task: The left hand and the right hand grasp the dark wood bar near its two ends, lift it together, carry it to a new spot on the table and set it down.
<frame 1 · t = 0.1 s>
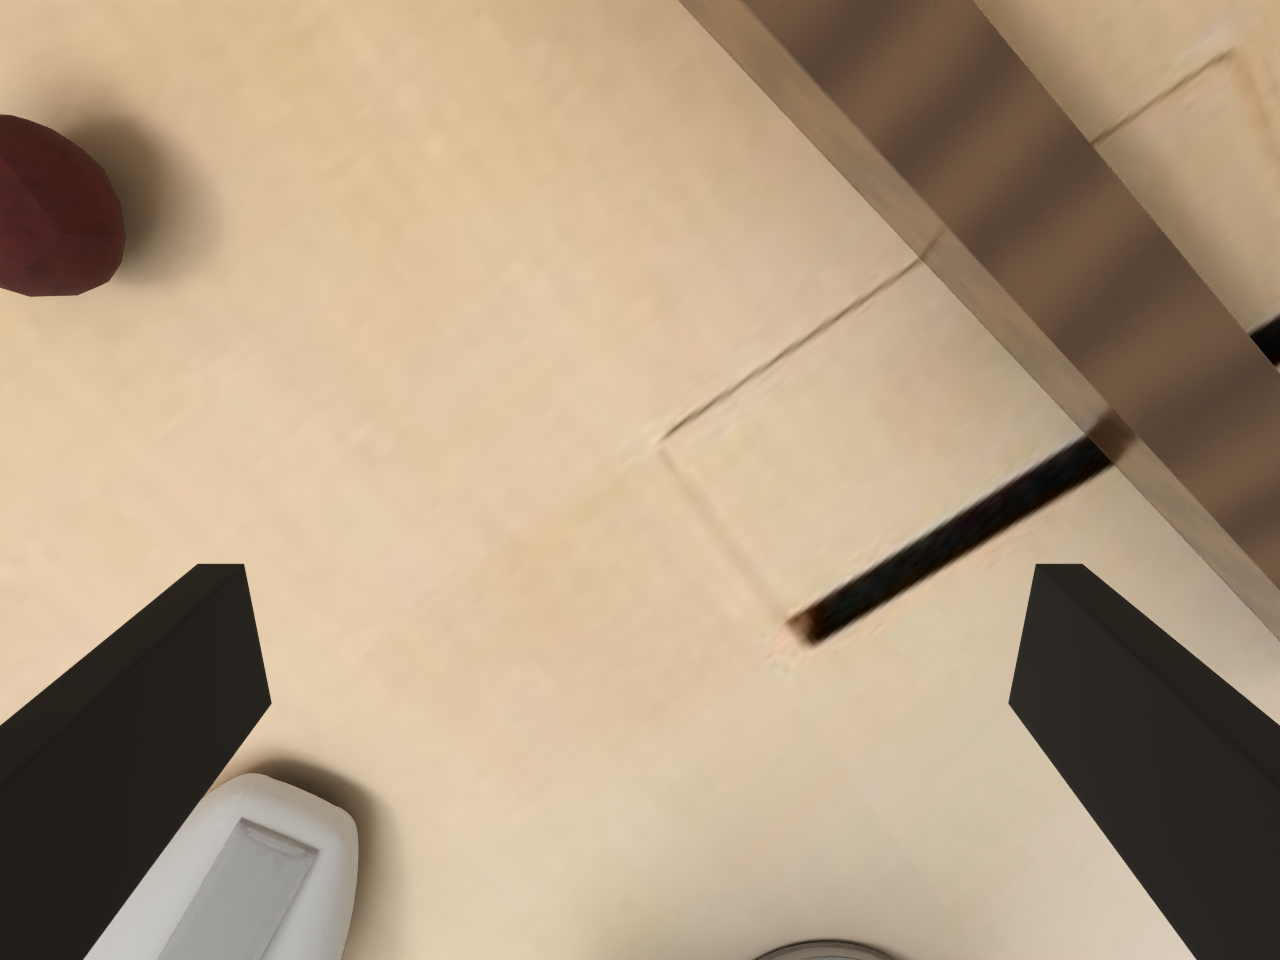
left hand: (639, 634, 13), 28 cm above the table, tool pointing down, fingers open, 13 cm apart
dark red ball: (83, 211, 37), on the table
bar: (965, 215, 37), on the table
projector: (244, 889, 52), on the table
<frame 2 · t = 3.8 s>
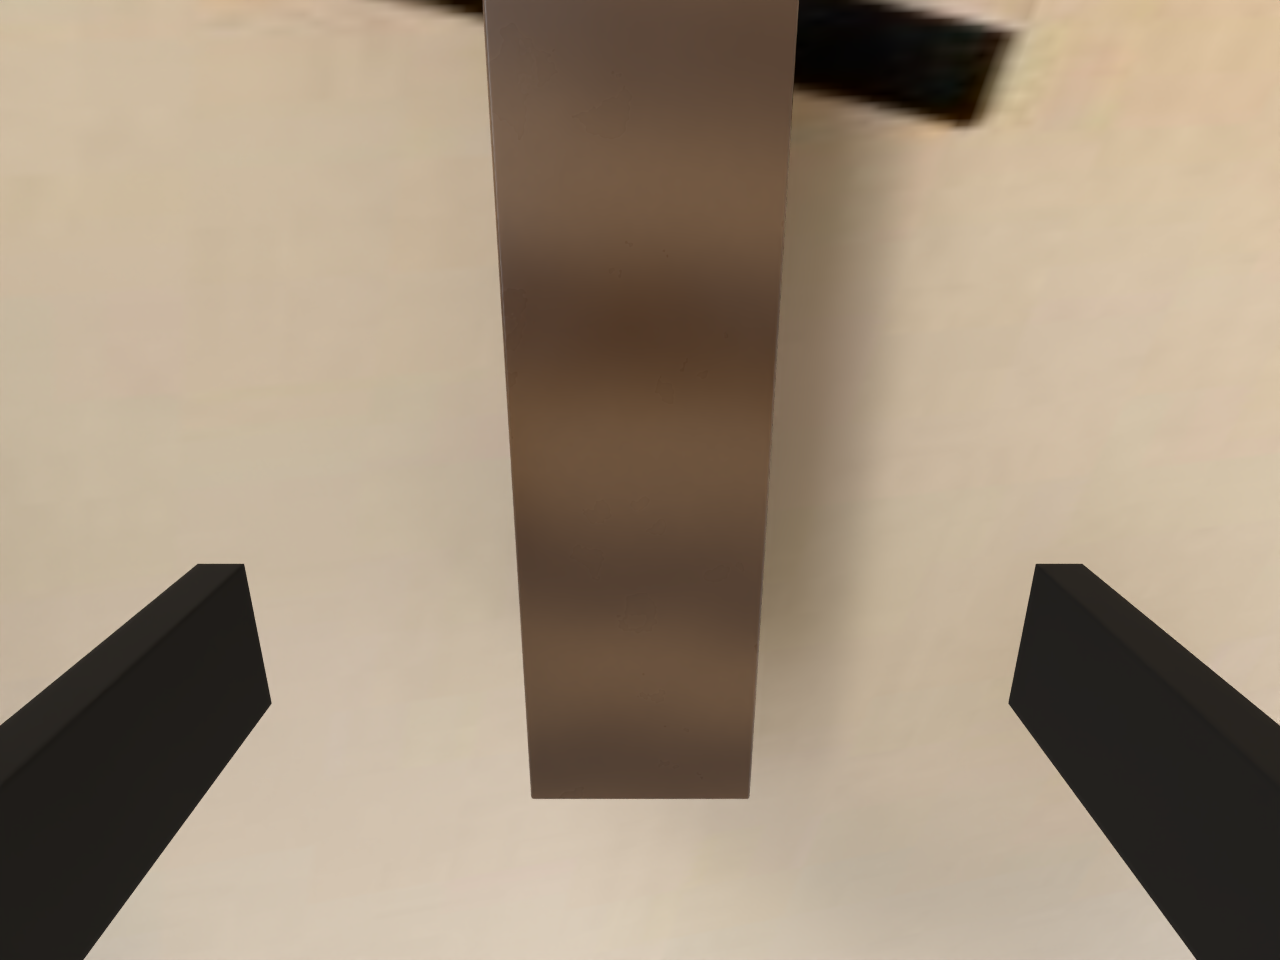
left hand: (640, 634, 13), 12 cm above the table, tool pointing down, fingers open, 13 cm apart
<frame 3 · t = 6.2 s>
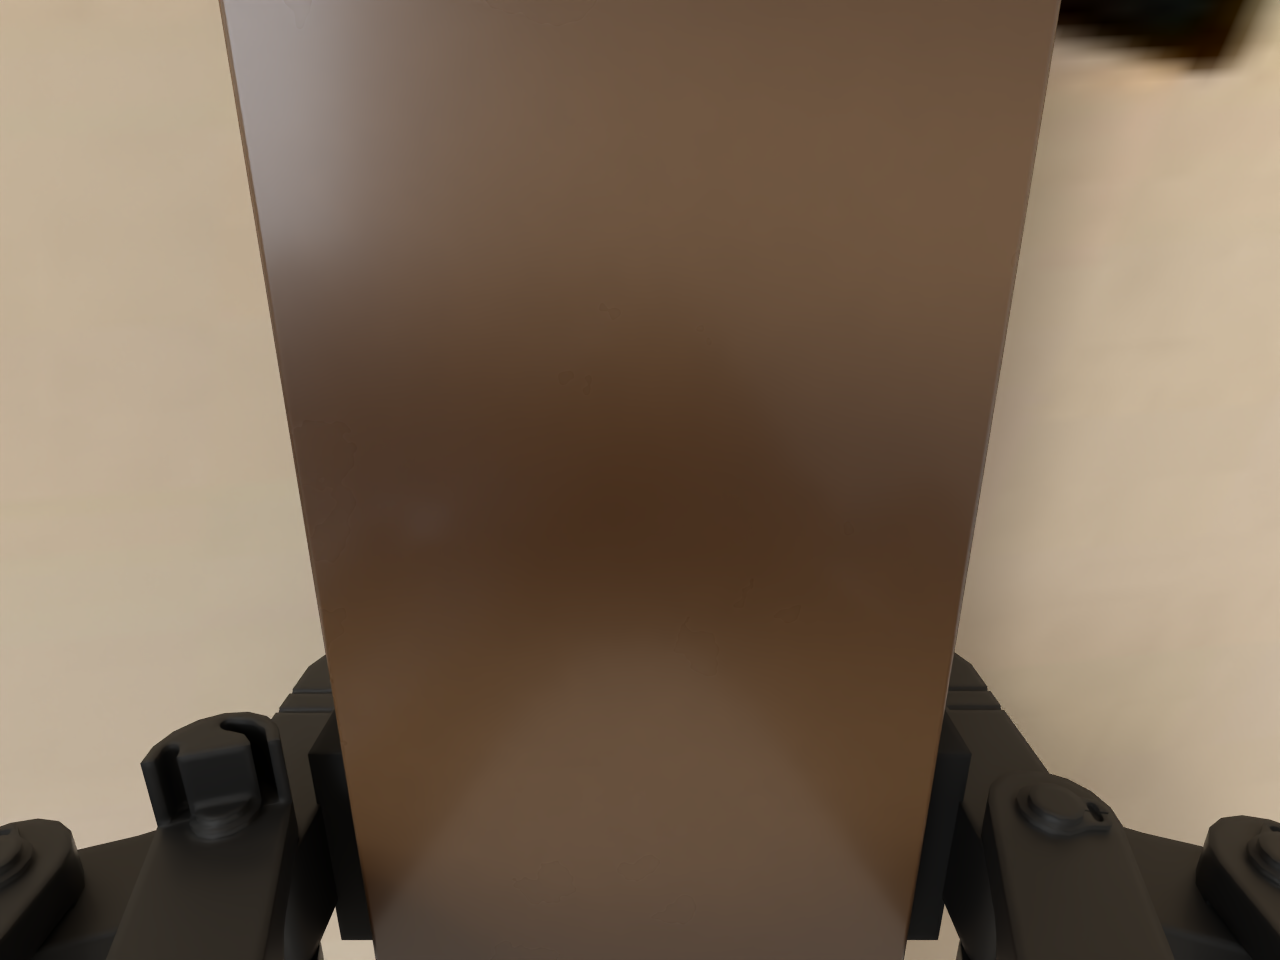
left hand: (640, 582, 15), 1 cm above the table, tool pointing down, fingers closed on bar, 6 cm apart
when the left hand's fingers open (1 cm above the table, at t = 11.5 s): bar stays where it is, on the table.
when the right hand's fingers open (3 cm above the table, at t = 11.7 s): bar stays where it is, on the table.
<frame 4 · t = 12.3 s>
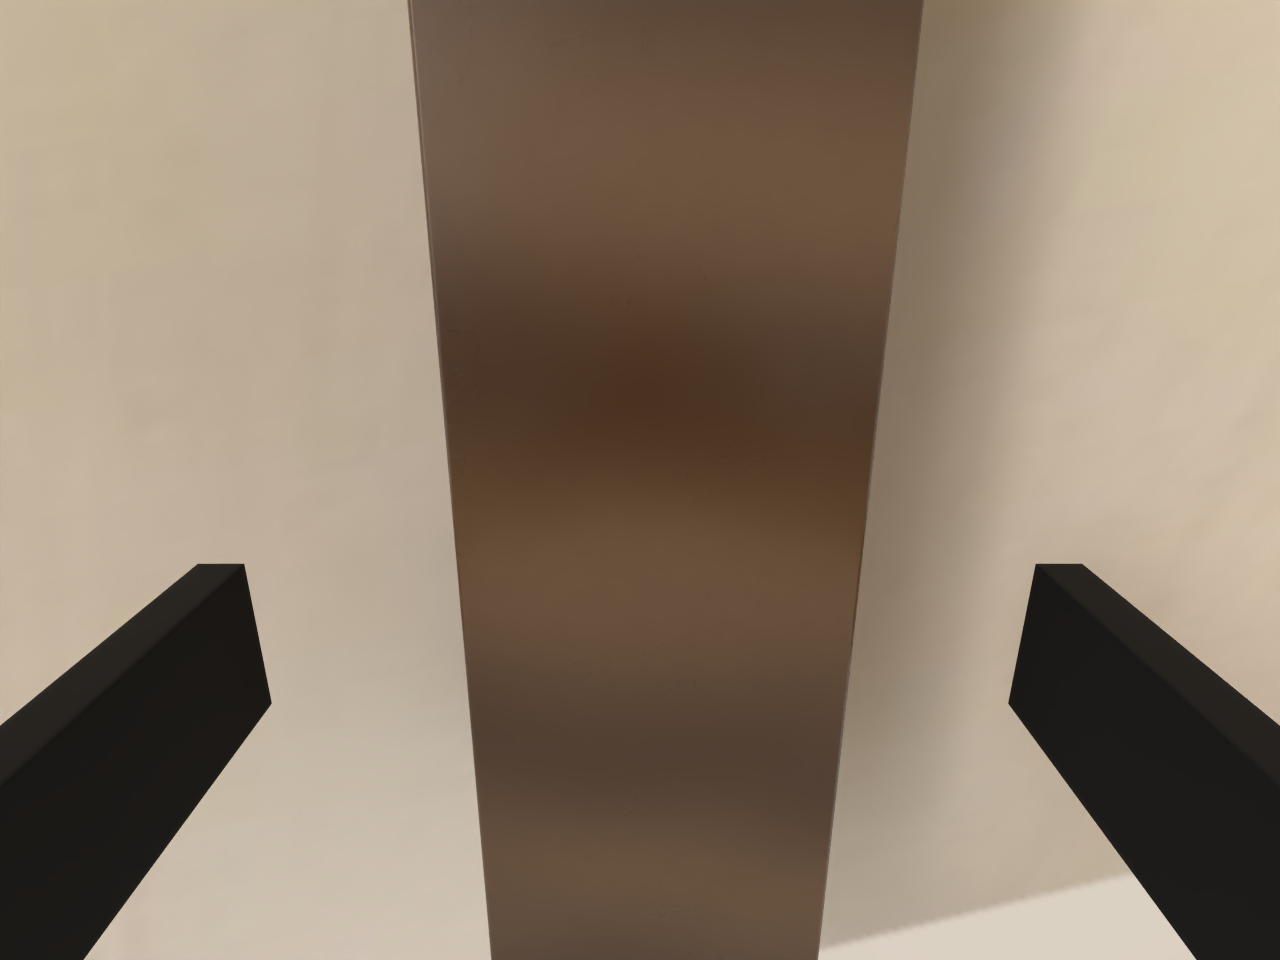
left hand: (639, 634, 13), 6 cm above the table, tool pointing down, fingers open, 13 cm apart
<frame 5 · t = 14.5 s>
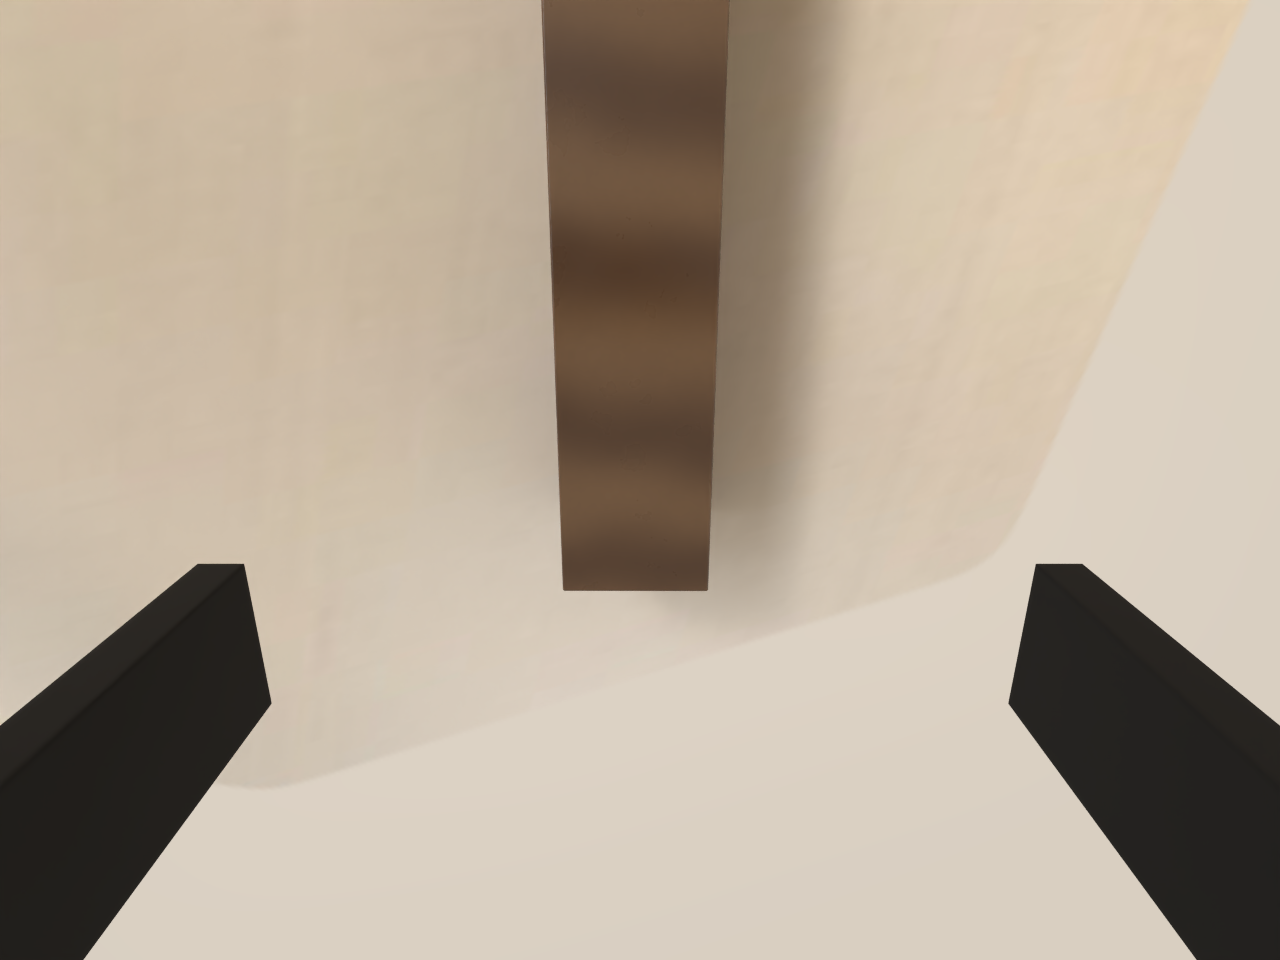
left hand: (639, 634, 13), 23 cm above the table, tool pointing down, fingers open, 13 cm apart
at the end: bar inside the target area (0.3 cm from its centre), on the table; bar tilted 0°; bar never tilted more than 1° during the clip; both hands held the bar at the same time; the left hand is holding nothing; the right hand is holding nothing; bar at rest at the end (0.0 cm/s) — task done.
